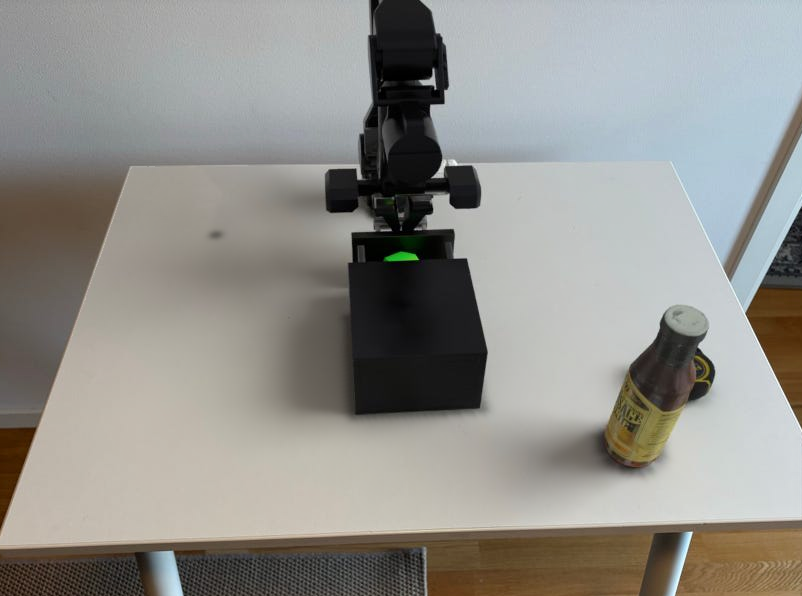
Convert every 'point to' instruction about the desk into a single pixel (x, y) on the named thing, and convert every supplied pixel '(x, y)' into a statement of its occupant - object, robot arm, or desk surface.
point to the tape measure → (702, 375)
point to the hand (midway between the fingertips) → (401, 244)
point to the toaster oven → (415, 336)
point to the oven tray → (402, 242)
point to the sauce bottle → (656, 389)
